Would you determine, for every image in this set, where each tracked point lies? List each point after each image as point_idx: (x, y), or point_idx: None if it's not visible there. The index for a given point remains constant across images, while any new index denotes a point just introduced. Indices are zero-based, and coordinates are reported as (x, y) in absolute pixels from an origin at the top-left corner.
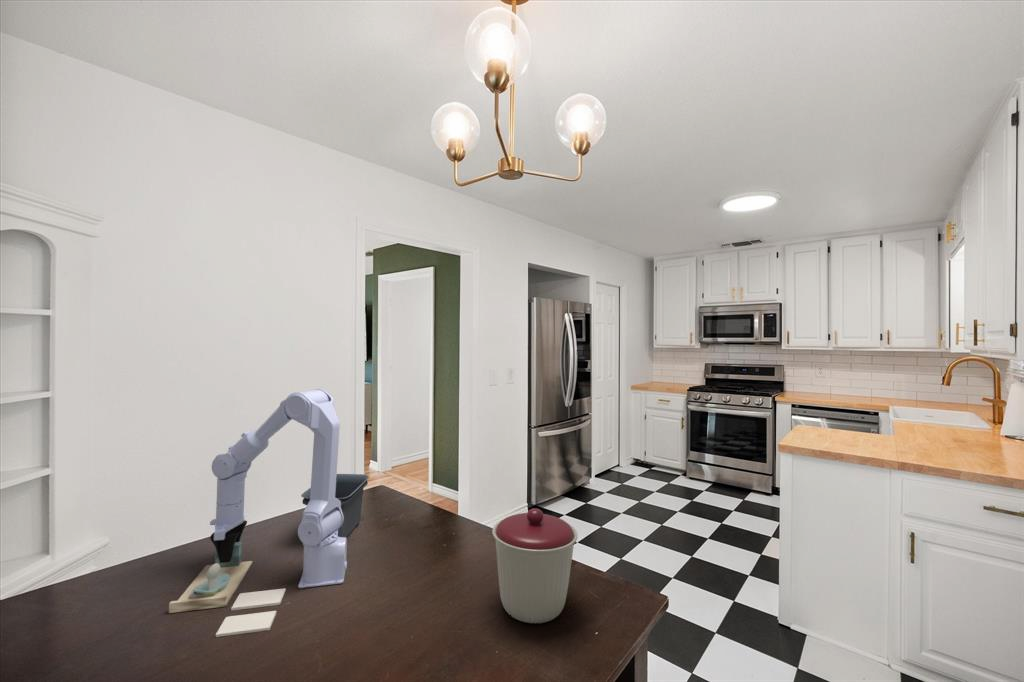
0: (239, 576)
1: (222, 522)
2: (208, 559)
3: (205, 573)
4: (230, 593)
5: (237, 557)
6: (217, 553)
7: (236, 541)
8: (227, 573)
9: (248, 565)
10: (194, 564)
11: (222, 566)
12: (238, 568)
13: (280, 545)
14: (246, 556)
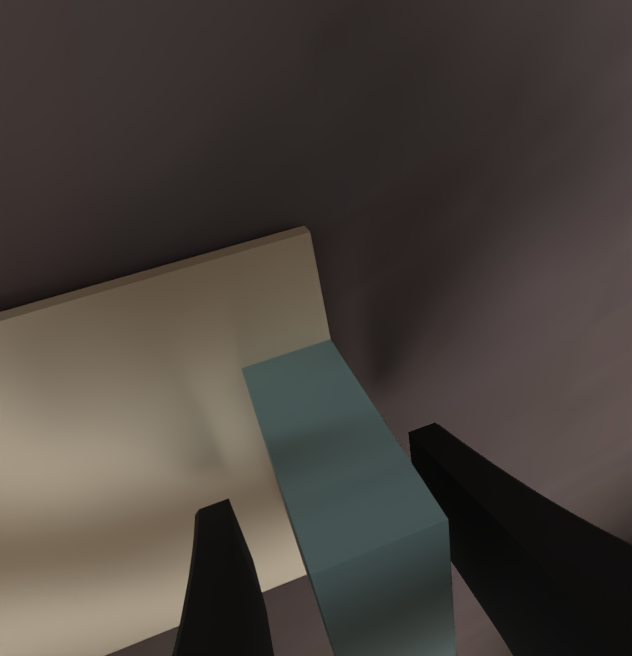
0: (104, 636)
1: None
2: (500, 115)
3: (111, 355)
4: None
5: (309, 582)
6: (185, 619)
7: (497, 612)
8: (144, 533)
9: (294, 572)
10: (396, 6)
11: (259, 430)
12: None
13: (601, 516)
14: (486, 426)
